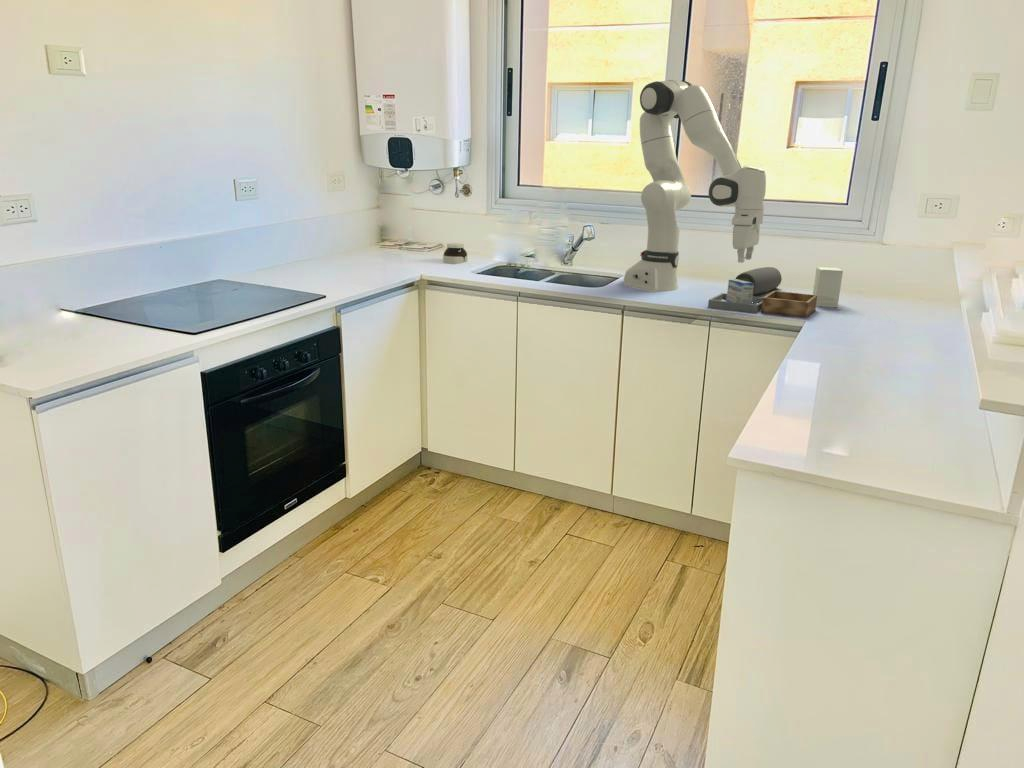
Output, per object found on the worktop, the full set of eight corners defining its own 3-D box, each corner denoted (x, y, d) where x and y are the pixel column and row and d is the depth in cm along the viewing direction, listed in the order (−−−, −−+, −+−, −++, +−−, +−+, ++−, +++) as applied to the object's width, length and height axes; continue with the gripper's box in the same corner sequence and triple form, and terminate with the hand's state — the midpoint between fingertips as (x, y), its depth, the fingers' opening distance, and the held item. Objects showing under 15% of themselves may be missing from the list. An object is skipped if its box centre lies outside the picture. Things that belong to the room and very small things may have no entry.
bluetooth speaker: (757, 290, 285) (760, 264, 282) (781, 294, 279) (784, 267, 276) (730, 298, 268) (733, 270, 265) (755, 301, 262) (758, 273, 259)
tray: (707, 307, 250) (708, 299, 249) (721, 300, 263) (722, 293, 263) (756, 313, 242) (757, 305, 242) (768, 305, 256) (768, 298, 255)
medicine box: (725, 304, 255) (728, 279, 253) (735, 304, 257) (738, 278, 255) (740, 309, 249) (743, 283, 246) (751, 308, 250) (754, 282, 248)
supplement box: (837, 308, 254) (843, 270, 251) (814, 306, 256) (820, 269, 252) (833, 304, 261) (839, 267, 258) (811, 302, 263) (816, 266, 259)
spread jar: (455, 274, 305) (455, 245, 301) (433, 271, 311) (433, 243, 307) (472, 271, 314) (473, 243, 311) (451, 268, 320) (451, 240, 317)
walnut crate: (761, 312, 243) (762, 297, 242) (772, 305, 256) (773, 290, 255) (806, 318, 236) (808, 302, 235) (815, 310, 250) (817, 295, 248)
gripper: (746, 216, 254) (743, 257, 258) (730, 219, 237) (726, 263, 241) (765, 216, 251) (761, 258, 255) (750, 220, 234) (746, 264, 238)
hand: (744, 260), depth 248 cm, fingers open, 8 cm apart
